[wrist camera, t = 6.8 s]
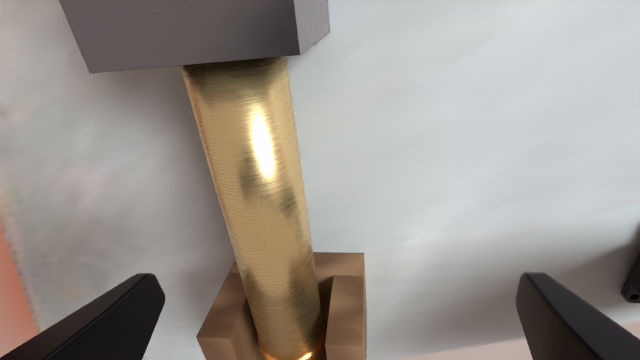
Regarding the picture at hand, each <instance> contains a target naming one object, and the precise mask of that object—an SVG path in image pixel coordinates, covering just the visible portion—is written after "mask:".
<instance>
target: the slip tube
mask: <svg viewBox="0 0 640 360" xmlns="http://www.w3.org/2000/svg"><path fill="white" fill-rule="evenodd" d="M180 69H181V72H182V76H183V79H184V83H185V86H186V89H187V93H188V96H189V100H190V103H191V107H192V110H193V114H194V117H195V120H196V124H197V127H198V131H199V134H200V138H201V141H202V145H203V148H204V151H205V155H206V158H207V162H208V165H209V169H210V172H211V176H212V179H213V182H214V186H215V189H216V193H217V196H218V200H219V203H220V207H221V210H222V213H223V217H224V220H225V224H226V227H227V231H228V234H229V238H230V241H231V244H232V248H233V251H234V255H235V258H236V262H237V265H238V269H239V272H240V275H241V279H242V282H243V286H244V289H245V293H246V296H247V300H248V303H249V306H250V310H251V313H252V317H253V320H254V324H255V327H256V331H257V334H258V335H257V336H258V344H259V347H260V351H261V354H262V357H263V359H264V360H318V359H319V357H320V356H321V354H322V353H323V351H324V348H325V341H326V329H325V323H324V319H323V317H322V312H321V305H320V298H319V290H318V283H317V276H316V269H315V262H314V254H313V247H312V240H311V233H310V226H309V218H308V211H307V204H306V197H305V190H304V182H303V175H302V168H301V161H300V154H299V146H298V139H297V132H296V125H295V117H294V110H293V103H292V96H291V89H290V81H289V74H288V67H287V60H286V56H280V57H269V58H258V59H246V60H235V61H223V62H212V63H201V64H189V65H180Z"/></svg>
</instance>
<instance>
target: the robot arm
mask: <svg viewBox="0 0 640 360" xmlns="http://www.w3.org/2000/svg"><path fill="white" fill-rule="evenodd" d="M621 295H622V297H623V298H624V299H625V300H626V301H627V302H631V303H640V254H639V256H638V258H637V260H636V262H635V264H634V266H633V268H632V271H631V273H630V275H629V277H628V279H627V281H626V283H625V285H624V287H623V289H622V291H621ZM164 303H165V294H164V292H163V290H162V288H161V286H160V284H159V282H158V280H157V278H156V276H155V275H154V274H151V273H139V274H136V275H134V276H132V277H131V278H129V279H127V280H126V281H124V282H122V283H121V284H119V285H118V286H116V287H114V288H113V289H111V290H109V291H108V292H106V293H105V294H103V295H101V296H100V297H98V298H96V299H95V300H93V301H92V302H90V303H88V304H87V305H85V306H83V307H82V308H80V309H79V310H77V311H75V312H74V313H72V314H70V315H69V316H67V317H66V318H64V319H62V320H61V321H59V322H58V323H56V324H54V325H53V326H51V327H49V328H48V329H46V330H45V331H43V332H41V333H40V334H38V335H36V336H35V337H33V338H32V339H30V340H28V341H27V342H25V343H23V344H22V345H20V346H19V347H17V348H15V349H14V350H12V351H10V352H9V353H7V354H6V355H4V356H2V357H1V358H0V360H142V358H143V356H144V353H145V351H146V348H147V346H148V343H149V341H150V338H151V336H152V333H153V331H154V328H155V326H156V323H157V321H158V318H159V316H160V313H161V311H162V308H163V306H164ZM516 308H517V311H518V315H519V318H520V321H521V324H522V327H523V330H524V333H525V336H526V339H527V343H528V346H529V349H530V352H531V355H532V358H533V360H640V339H638V338H637V337H635V336H634V335H632V334H631V333H630V332H628V331H627V330H626V329H624V328H623V327H621V326H620V325H618V324H617V323H616V322H614V321H613V320H611V319H610V318H609V317H607V316H606V315H604V314H603V313H601V312H600V311H599V310H597V309H596V308H594V307H593V306H591V305H590V304H589V303H587V302H586V301H584V300H583V299H582V298H580V297H579V296H577V295H576V294H574V293H573V292H572V291H570V290H569V289H567V288H566V287H564V286H563V285H562V284H560V283H559V282H557V281H556V280H555V279H553V278H552V277H550V276H549V275H547V274H546V273H543V272H524V273H522V274H521V276H520V280H519V285H518V290H517V295H516Z"/></svg>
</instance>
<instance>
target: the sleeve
mask: <svg viewBox="0 0 640 360" xmlns="http://www.w3.org/2000/svg"><path fill="white" fill-rule="evenodd" d="M59 1H60V3H61V6H62V8H63V11H64V13H65V15H66V18H67V20H68V22H69V25H70V27H71V30H72V32H73V34H74V37H75V39H76V41H77V44H78V46H79V49H80V51H81V53H82V56H83V58H84V60H85V63H86V65H87V68H88V70H89V72H90V73H98V72H110V71H121V70H132V69H144V68H155V67H167V66H178V65H189V64H201V63H212V62H223V61H235V60H246V59H258V58H269V57H280V56H292V55H301V54H302V53H303V52H304V51H306V50H307V49H308V48H310V47H311V46H312V45H314V44H315V43H316V42H318V41H319V40H320V39H321V38H323V37H324V36H325V35H327V34H328V33H329V32H330V26H329V13H328V0H59Z"/></svg>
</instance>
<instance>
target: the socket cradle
mask: <svg viewBox="0 0 640 360" xmlns="http://www.w3.org/2000/svg"><path fill="white" fill-rule="evenodd" d="M313 254H314V262H315V269H316V276H317V283H318V290H319V298H320V305H321V312H322V317H323V319H324V323H325V329H326V341H325V348H324V351H323V353H322V354H321V356H320V357H319V359H318V360H366V319H367V312H366V288H365V264H364V253H313ZM257 335H258V334H257V331H256V327H255V324H254V320H253V317H252V313H251V310H250V306H249V303H248V300H247V296H246V293H245V289H244V286H243V282H242V279H241V275H240V272H239V269H238V265H237V262H236V260H235V262H234V264H233V266H232V268H231V270H230V272H229V274H228V276H227V278H226V280H225V282H224V284H223V286H222V288H221V290H220V292H219V294H218V295H217V297H216V299H215V301H214V303H213V305H212V307H211V309H210V311H209V313H208V315H207V317H206V319H205V321H204V323H203V325H202V327H201V329H200V330H199V332H198V334H197V336H196V337H197V340H198V342H199V344H200V347H201V349H202V351H203V354H204V356H205V358H206V360H264V359H263V357H262V354H261V351H260V347H259V344H258V336H257Z"/></svg>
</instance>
